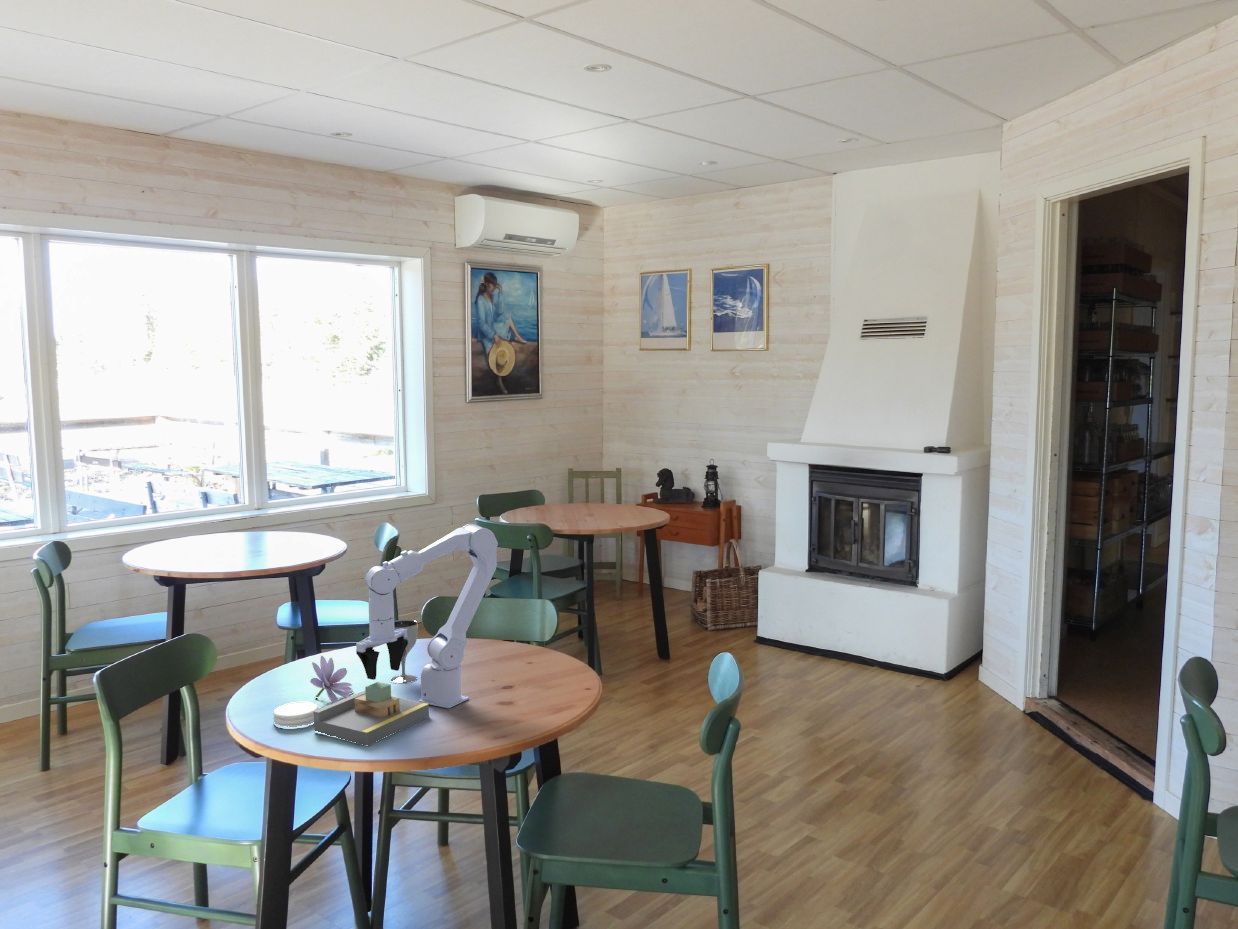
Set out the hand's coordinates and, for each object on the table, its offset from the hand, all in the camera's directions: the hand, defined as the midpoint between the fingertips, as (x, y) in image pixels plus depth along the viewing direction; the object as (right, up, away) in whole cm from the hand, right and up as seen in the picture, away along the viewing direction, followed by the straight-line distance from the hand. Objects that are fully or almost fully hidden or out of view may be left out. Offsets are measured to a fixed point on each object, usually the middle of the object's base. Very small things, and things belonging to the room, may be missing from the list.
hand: (383, 674), depth 222 cm
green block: (+1, -4, -7) cm, 8 cm away
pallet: (0, -7, -6) cm, 9 cm away
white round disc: (-19, -11, -4) cm, 22 cm away
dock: (-1, -10, -7) cm, 12 cm away
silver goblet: (-1, -7, +25) cm, 26 cm away
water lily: (-15, -9, +10) cm, 20 cm away
